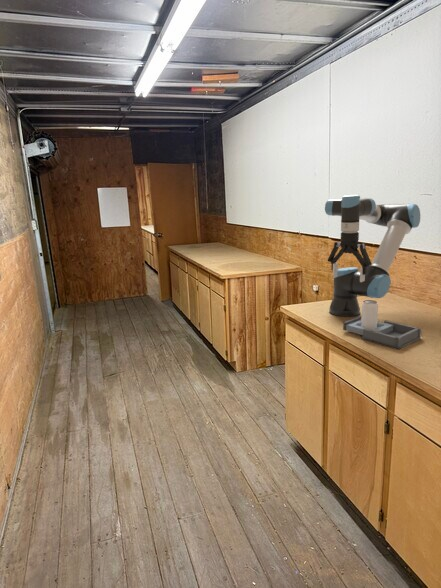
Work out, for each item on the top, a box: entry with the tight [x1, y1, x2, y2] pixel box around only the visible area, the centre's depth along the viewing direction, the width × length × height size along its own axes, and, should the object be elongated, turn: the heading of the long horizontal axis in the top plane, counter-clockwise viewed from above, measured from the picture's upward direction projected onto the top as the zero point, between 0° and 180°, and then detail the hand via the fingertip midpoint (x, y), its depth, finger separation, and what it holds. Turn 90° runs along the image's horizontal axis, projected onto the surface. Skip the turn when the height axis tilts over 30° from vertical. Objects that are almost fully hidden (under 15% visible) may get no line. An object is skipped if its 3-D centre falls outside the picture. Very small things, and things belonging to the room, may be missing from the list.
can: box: [360, 299, 379, 330], centre depth 169 cm, size 6×6×12 cm
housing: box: [361, 319, 422, 351], centre depth 163 cm, size 16×18×4 cm
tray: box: [342, 315, 394, 336], centre depth 171 cm, size 15×14×4 cm
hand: (348, 279), depth 175 cm, fingers open, 13 cm apart
